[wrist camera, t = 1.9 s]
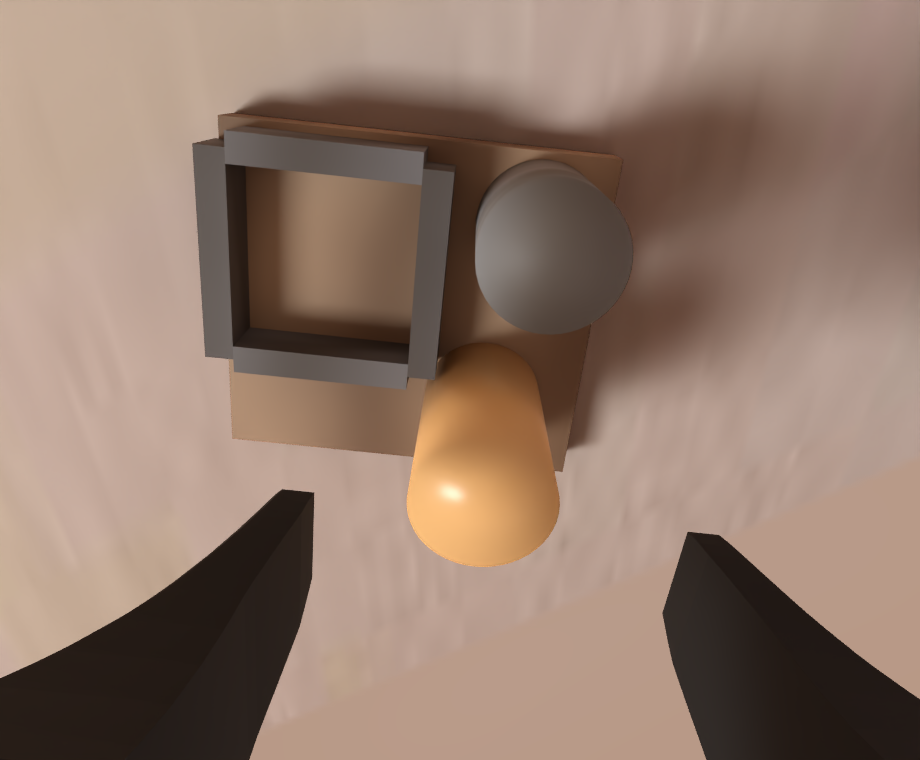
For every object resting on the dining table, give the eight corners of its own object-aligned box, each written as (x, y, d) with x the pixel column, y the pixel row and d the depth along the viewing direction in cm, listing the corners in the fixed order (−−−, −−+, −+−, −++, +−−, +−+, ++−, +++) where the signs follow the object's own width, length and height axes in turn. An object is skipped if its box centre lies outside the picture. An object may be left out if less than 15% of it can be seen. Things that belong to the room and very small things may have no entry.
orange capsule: (546, 349, 20) (571, 447, 15) (529, 449, 22) (546, 573, 17) (429, 336, 20) (412, 431, 15) (420, 438, 22) (401, 559, 16)
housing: (615, 155, 19) (659, 180, 15) (558, 453, 23) (579, 549, 19) (229, 112, 19) (147, 124, 14) (241, 421, 23) (180, 509, 18)
